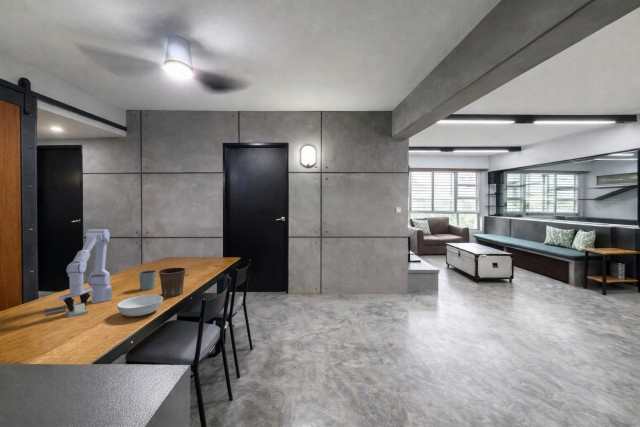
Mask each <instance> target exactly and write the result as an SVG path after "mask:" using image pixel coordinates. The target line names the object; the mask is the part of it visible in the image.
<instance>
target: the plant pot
mask: <svg viewBox="0 0 640 427" xmlns="http://www.w3.org/2000/svg"><path fill="white" fill-rule="evenodd" d="M186 270H187V268H185V267H169V268H168V267H167V268H162V269H159V270H158V272H157V273H158V277H159V280H160V285H161V286H160V287H161V296H162V297H163V298H164V297H165V298H172V297H178V296H180V295H183V292H184V281H185V275H186Z"/></svg>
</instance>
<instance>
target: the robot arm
mask: <svg viewBox="0 0 640 427" xmlns="http://www.w3.org/2000/svg"><path fill="white" fill-rule="evenodd" d="M110 237H111V233H110V231H109V229H107V228H103V229H101V228H99V229H98V228H97V229H95V228H94V229H93V228H89V229H88V230H87V231H86V233H85V239H86V240H85V242H84V245H83V247H82V249H81V250H79V251H78V252H77V253H76V255H75V257H74V259H73V260H72V261H71V262H70V263H69V264H68V265H67V267H66V268H65V269H66V273H67V277H69V293H66V294H63V295H60V296H59V298H58V300H59V301H63V302H64V303H65V305H66V307H67V309H68V310H69V311H70V312H72V311H73V304H74V301H75V299H74V298H75V297H79V300H80V303H84V304H85V306H86V305H87V302H88V300H89V298H90V296H91V299H90V300H89V301H90V303H91V304H97V303H101V302H106V301H112V300H113V299H112V295H113V294H112V291H113V290H112V285H111V284H110V282H111V273H110V272H109V271H108V270H106V261H107V248H108V243H110ZM95 245H96V247H95V260H94V268H93V269H94V270H92V272H90V273H89V276H88V278H87V284H88V286H89V288H88V289H85V287H84V282H85V281H84V278H85V276H84V273H85V272H86V270H87V264H88V261H89V259H90V256H91V253H90V252H91V251H92V249H93V247H94V246H95ZM96 275H98V276H96ZM68 310H67V311H68Z"/></svg>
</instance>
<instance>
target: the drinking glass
mask: <svg viewBox="0 0 640 427" xmlns="http://www.w3.org/2000/svg"><path fill="white" fill-rule="evenodd" d="M138 276H139V290H140V291H151V290H154V289H155V286H156V284H155V283H156V276H157V271H156V270H155V269H154V270H153V269H152V270H151V269H150V270H149V269H148V270H142V271H139V272H138Z"/></svg>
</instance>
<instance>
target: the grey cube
mask: <svg viewBox="0 0 640 427" xmlns="http://www.w3.org/2000/svg"><path fill="white" fill-rule="evenodd" d="M85 307H86V305H85V304H84V303H81V302H76V303H73V311H72V312H70V311H69V313H68V315H69V314H74V313H79V312H84V311H86V310H85Z"/></svg>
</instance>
